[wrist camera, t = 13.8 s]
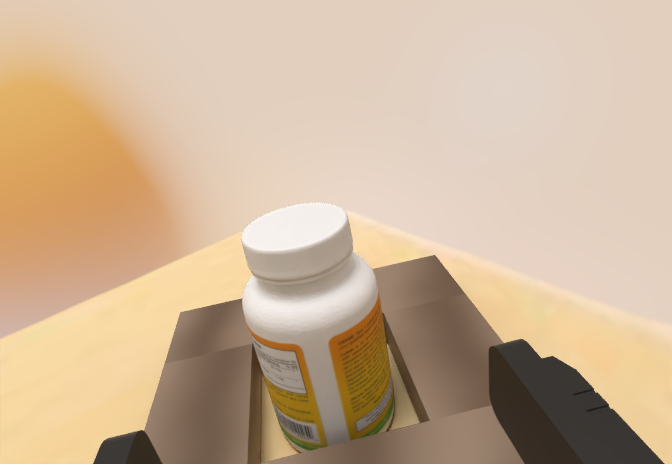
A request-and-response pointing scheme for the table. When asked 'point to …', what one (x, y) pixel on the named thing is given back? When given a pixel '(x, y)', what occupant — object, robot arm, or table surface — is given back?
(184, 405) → the socket plate
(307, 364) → the supplement bottle
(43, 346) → the table surface
